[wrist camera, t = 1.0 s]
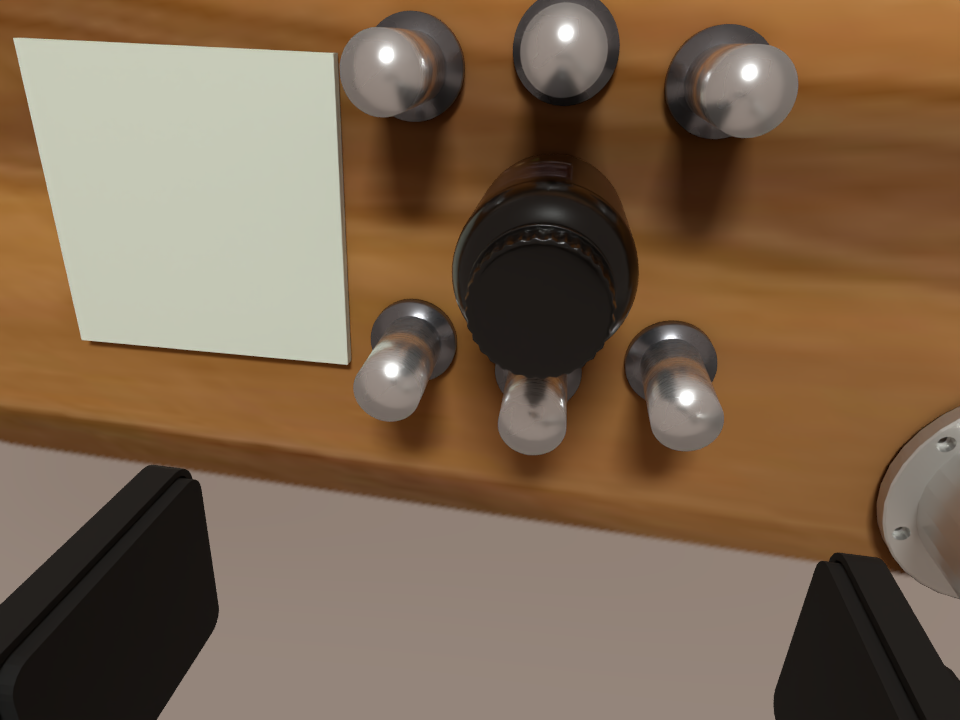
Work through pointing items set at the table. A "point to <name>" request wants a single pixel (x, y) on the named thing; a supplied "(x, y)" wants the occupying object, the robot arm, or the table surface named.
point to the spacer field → (561, 81)
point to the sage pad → (196, 194)
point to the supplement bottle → (546, 266)
